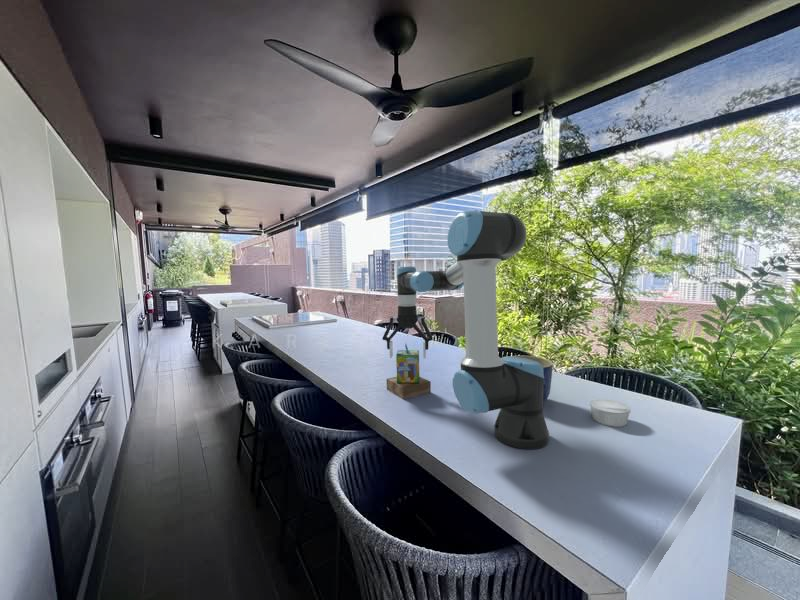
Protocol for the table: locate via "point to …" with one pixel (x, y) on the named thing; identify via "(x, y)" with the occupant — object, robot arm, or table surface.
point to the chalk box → (407, 366)
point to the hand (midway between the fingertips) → (407, 357)
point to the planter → (546, 371)
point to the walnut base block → (408, 388)
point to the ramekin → (610, 412)
